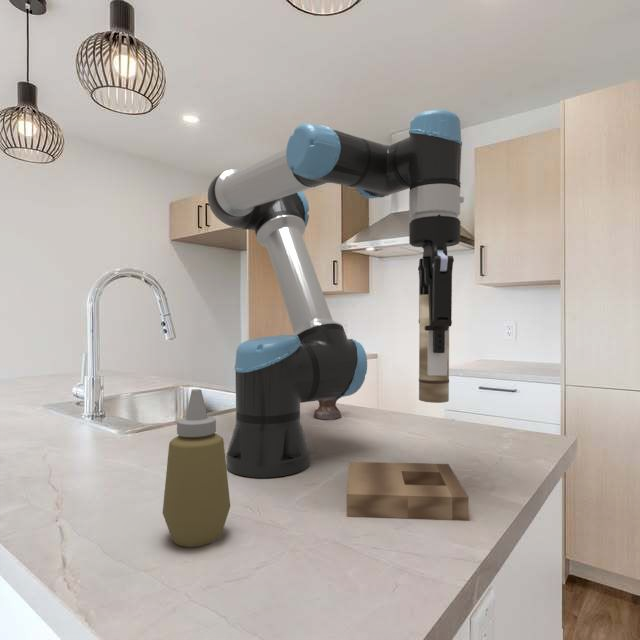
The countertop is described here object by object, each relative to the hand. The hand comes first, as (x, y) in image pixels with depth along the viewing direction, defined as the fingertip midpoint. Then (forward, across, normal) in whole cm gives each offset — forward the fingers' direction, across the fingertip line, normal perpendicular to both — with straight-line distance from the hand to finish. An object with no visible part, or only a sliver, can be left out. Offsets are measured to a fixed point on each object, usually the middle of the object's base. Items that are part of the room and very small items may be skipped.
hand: (433, 372), depth 70 cm
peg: (+4, 0, 0) cm, 4 cm away
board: (+18, -2, +5) cm, 19 cm away
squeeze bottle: (+19, -15, +32) cm, 40 cm away
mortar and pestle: (+19, +54, +19) cm, 61 cm away
